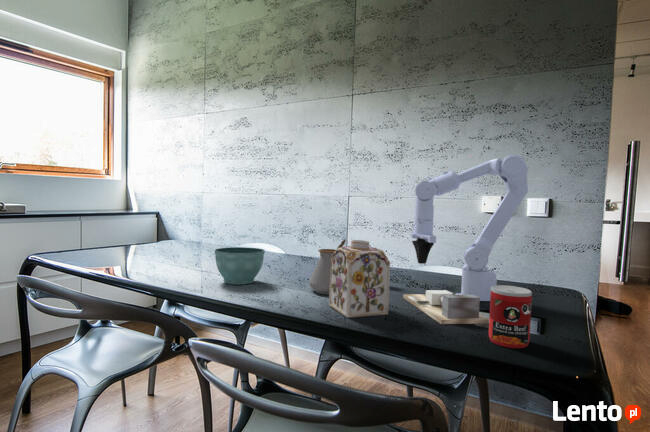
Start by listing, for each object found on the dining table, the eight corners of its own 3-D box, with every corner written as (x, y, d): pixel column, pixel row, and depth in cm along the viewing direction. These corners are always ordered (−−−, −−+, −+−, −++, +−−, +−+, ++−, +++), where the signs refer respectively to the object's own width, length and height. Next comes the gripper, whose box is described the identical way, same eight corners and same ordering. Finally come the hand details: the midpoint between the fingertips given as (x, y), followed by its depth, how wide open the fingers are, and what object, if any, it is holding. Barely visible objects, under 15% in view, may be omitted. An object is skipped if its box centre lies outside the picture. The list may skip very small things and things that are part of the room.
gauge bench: (441, 297, 117) (441, 277, 117) (488, 323, 92) (489, 298, 92) (403, 297, 115) (403, 277, 115) (441, 324, 90) (442, 298, 90)
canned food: (489, 345, 78) (491, 290, 77) (487, 333, 85) (490, 283, 85) (531, 351, 75) (535, 295, 74) (526, 338, 82) (529, 287, 82)
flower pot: (204, 280, 129) (205, 248, 128) (247, 275, 139) (248, 245, 139) (228, 290, 117) (229, 254, 116) (273, 284, 128) (274, 251, 127)
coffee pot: (338, 298, 112) (340, 246, 111) (302, 293, 116) (304, 243, 116) (359, 284, 132) (361, 240, 131) (328, 280, 136) (330, 238, 135)
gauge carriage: (445, 301, 107) (446, 290, 107) (463, 310, 98) (464, 299, 98) (414, 301, 106) (414, 290, 106) (429, 311, 96) (429, 299, 96)
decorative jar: (328, 305, 103) (330, 238, 102) (366, 303, 107) (369, 238, 107) (347, 319, 92) (350, 243, 91) (389, 315, 96) (392, 243, 96)
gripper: (403, 218, 128) (401, 259, 128) (421, 220, 114) (418, 267, 114) (423, 219, 129) (421, 259, 130) (443, 221, 115) (441, 267, 115)
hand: (421, 263), depth 122 cm, fingers closed
